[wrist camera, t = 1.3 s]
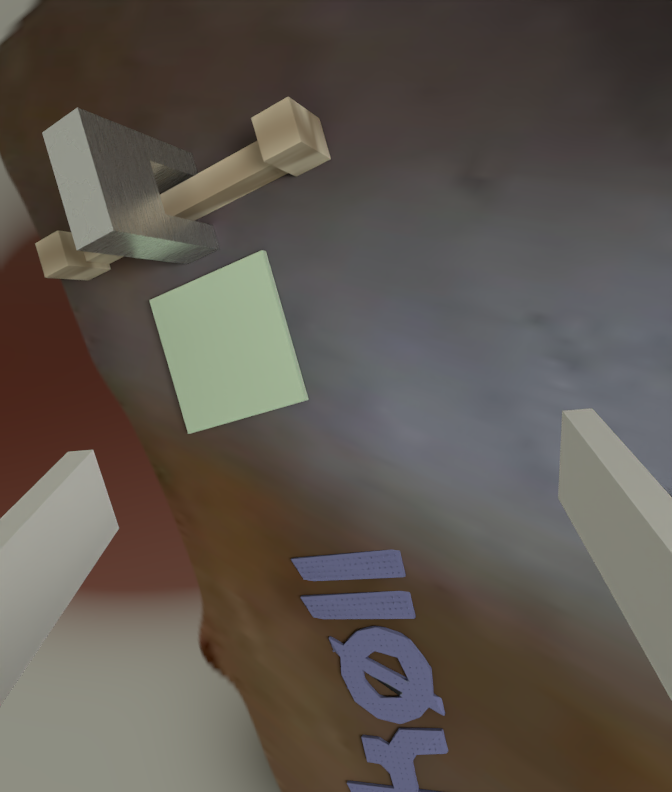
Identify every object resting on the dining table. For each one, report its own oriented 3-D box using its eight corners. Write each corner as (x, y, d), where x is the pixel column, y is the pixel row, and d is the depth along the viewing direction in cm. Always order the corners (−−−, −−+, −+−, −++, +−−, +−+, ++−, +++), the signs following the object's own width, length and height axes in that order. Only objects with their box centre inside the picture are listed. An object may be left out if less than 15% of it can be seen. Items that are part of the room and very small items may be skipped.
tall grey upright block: (160, 171, 46) (42, 132, 36) (191, 153, 45) (77, 107, 35) (187, 264, 46) (76, 250, 36) (219, 249, 45) (113, 230, 35)
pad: (154, 300, 48) (149, 300, 48) (265, 250, 43) (261, 250, 42) (192, 432, 48) (188, 434, 48) (308, 399, 43) (305, 400, 42)
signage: (490, 908, 42) (370, 884, 46) (491, 899, 43) (374, 876, 47) (403, 550, 41) (290, 559, 45) (406, 546, 42) (294, 556, 46)
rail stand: (79, 249, 51) (35, 243, 47) (319, 118, 40) (288, 96, 36) (88, 280, 51) (45, 277, 47) (330, 159, 40) (301, 141, 36)
